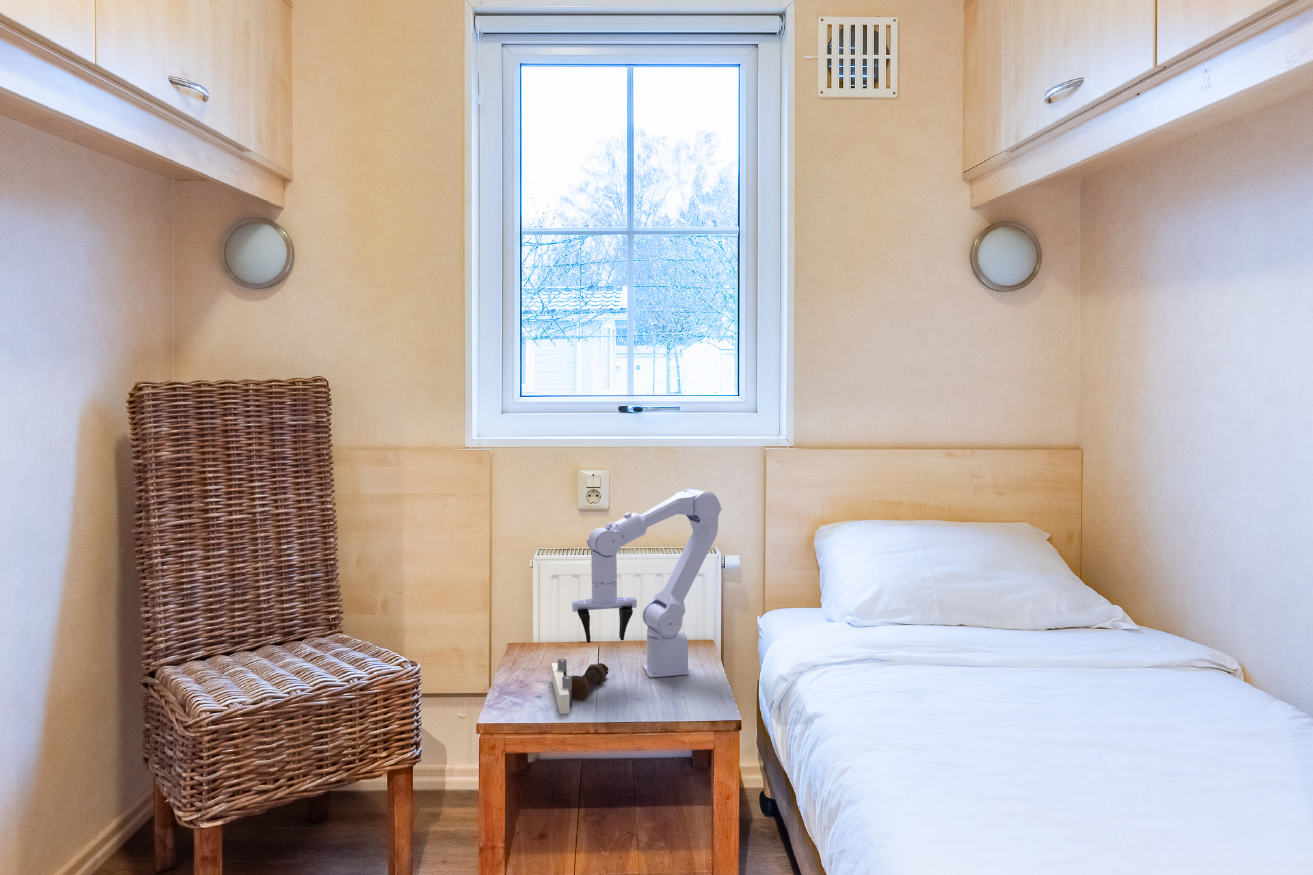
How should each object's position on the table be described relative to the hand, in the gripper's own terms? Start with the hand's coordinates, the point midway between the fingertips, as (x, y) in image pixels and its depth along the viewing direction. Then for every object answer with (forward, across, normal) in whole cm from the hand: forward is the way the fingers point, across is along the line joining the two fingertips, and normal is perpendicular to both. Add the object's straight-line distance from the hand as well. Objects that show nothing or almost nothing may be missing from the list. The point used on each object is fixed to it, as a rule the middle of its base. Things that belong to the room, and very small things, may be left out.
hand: (605, 640), depth 187 cm
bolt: (+10, -4, -4) cm, 11 cm away
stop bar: (+9, -11, -7) cm, 16 cm away
